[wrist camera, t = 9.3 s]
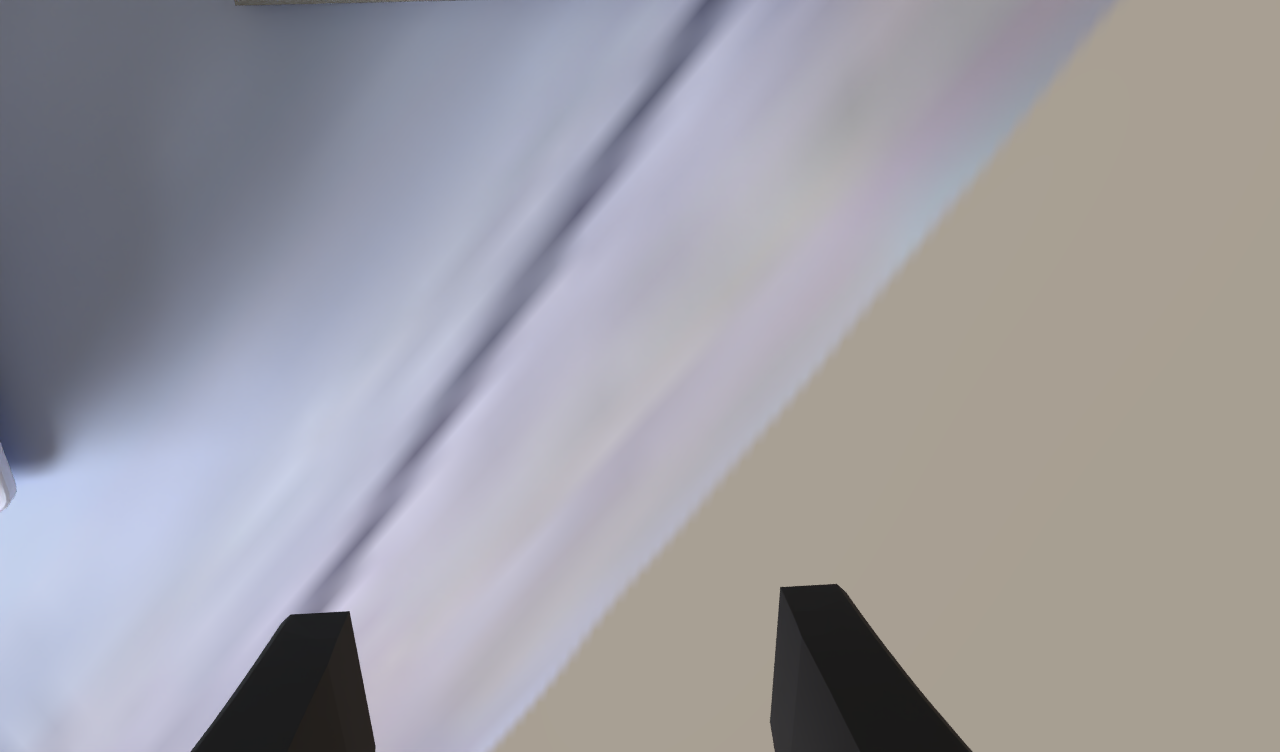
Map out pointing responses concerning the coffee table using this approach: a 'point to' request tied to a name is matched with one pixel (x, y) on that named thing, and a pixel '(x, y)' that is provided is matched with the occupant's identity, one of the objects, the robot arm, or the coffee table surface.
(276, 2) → the mat
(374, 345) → the coffee table surface
